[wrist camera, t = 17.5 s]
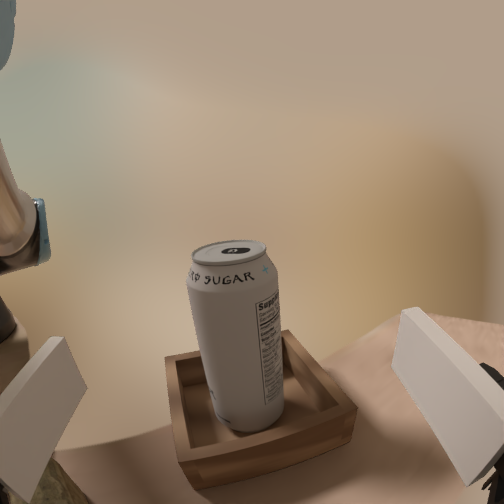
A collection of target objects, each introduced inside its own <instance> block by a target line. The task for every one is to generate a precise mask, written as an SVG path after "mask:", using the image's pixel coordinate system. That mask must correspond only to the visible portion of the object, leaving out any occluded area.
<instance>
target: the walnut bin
mask: <svg viewBox="0 0 504 504" xmlns="http://www.w3.org/2000/svg"><path fill="white" fill-rule="evenodd" d="M281 343H282V364H283V387H284V409H283V412H282V414H281V416H280V417H279V418H278V419H277V420H276V421H275V422H274V423H273V424H272V425H271V426H269V427H268V428H266V429H264V430H262V431H259V432H254V433H242V432H238V431H235V430H233V429H231V428H229V427H227V426H225V425H224V424H222V423H221V422H220V421H219V420H218V418H217V416H216V414H215V410H214V407H213V403H212V399H211V395H210V391H209V387H208V383H207V379H206V375H205V370H204V366H203V362H202V358H201V353H200V350H199V351H194V352H189V353H184V354H178V355H173V356H167V357H165V367H166V377H167V387H168V396H169V404H170V413H171V419H172V427H173V434H174V441H175V447H176V453H177V459H178V463H179V465H180V467H181V468H182V470H183V472H184V474H185V475H186V477H187V479H188V481H189V482H190V484H191V486H192V487H193V489H194V490H199V489H204V488H210V487H215V486H220V485H224V484H229V483H233V482H237V481H241V480H245V479H249V478H253V477H256V476H260V475H263V474H267V473H270V472H273V471H276V470H279V469H282V468H285V467H288V466H291V465H294V464H297V463H300V462H302V461H305V460H308V459H310V458H313V457H315V456H318V455H320V454H323V453H325V452H327V451H330V450H332V449H334V448H337V447H339V446H341V445H343V444H345V443H348V442H350V440H351V435H352V431H353V427H354V422H355V418H356V413H357V408H358V407H357V406H356V405H355V404H354V403H353V402H352V401H351V400H350V399H349V398H348V396H347V395H346V394H345V393H344V392H343V391H342V390H341V389H340V388H339V386H338V385H337V384H336V383H335V382H334V381H333V380H332V379H331V378H330V376H329V375H328V374H327V373H326V372H325V371H324V370H323V369H322V367H321V366H320V365H319V364H318V363H317V362H316V361H315V360H314V358H313V357H312V356H311V355H310V354H309V353H308V352H307V350H306V349H305V348H304V347H303V346H302V345H301V344H300V343H299V341H298V340H297V339H296V338H295V337H294V336H293V335H292V333H291V332H290V331H289V330H284V331H281Z"/></svg>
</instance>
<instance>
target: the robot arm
mask: <svg viewBox="0 0 504 504" xmlns="http://www.w3.org/2000/svg"><path fill="white" fill-rule="evenodd" d="M15 14H16V0H0V70H1V69H2V68H3V67H4V66H5V65H6V63H7V61H8V59H9V56H10V53H11V49H12V44H13V38H14V27H15V25H14V17H15ZM50 257H51V250H50V244H49V237H48V229H47V221H46V212H45V204H44V200H43V199H41V198H39V199H37V198H34V199H31V197H30V196H29V195H28V194H27V193H26V192H24V191H22V190H20V189H18V187H17V185H16V182H15V179H14V177H13V174H12V172H11V169H10V167H9V164H8V161H7V158H6V155H5V152H4V149H3V146H2V143H1V140H0V275H3V274H7V273H10V272H14V271H17V270H21V269H24V268H28V267H31V266H38V265H39V264H41V263H44V262H46V261H48V260H49V259H50ZM15 325H16V323H15V320H14V318H13V315H12V313H11V311H10V310H9V309H8V308H7V306H6V305H5V303H4V301H3V300H2V298H1V296H0V342H1V341H3V340H4V339H5V338H6V337H8V336H9V335H10V334H11V332H12V331H13V330H14V328H15ZM391 367H392V369H393V370H394V372H395V373H396V375H397V376H398V378H399V379H400V381H401V382H402V384H403V385H404V387H405V388H406V390H407V391H408V393H409V394H410V396H411V397H412V399H413V401H414V402H415V404H416V405H417V407H418V408H419V410H420V411H421V413H422V414H423V416H424V418H425V419H426V421H427V422H428V424H429V426H430V427H431V429H432V430H433V432H434V434H435V435H436V437H437V438H438V440H439V442H440V443H441V445H442V447H443V448H444V450H445V452H446V453H447V455H448V457H449V458H450V460H451V462H452V463H453V465H454V467H455V469H456V470H457V472H458V474H459V475H460V477H461V479H462V481H463V483H464V484H465V486H466V487H468V486H470V485H471V484H473V483H474V482H476V481H478V480H479V479H481V478H482V477H484V476H485V475H486V474H487V473H488V471H489V470H490V469H491V468H492V467H493V466H494V467H495V469H496V471H495V472H494V474H493V475H492V476H491V477H490V478H489V479H488V480H487V481H486V482H485V483H484V485H483V487H482V490H484V489H485V488H486V487H487V486H488V485H489V484H490V483H491V482H492V484H491V486H490V487H489V489H488V490H490V493H489V498H488V503H487V504H504V377H503V376H502V375H501V374H500V373H499V372H498V371H497V370H496V369H494V368H492V367H491V366H489V365H487V364H485V363H481V364H478V363H477V362H476V361H475V360H474V359H473V358H472V357H471V356H470V355H469V354H468V353H467V352H466V351H465V350H464V349H463V348H462V347H461V346H460V345H459V344H458V343H457V342H455V341H454V340H453V339H452V338H451V337H450V336H449V335H448V334H447V333H446V332H445V331H444V330H443V329H442V328H441V327H440V326H438V325H437V324H436V323H435V322H434V321H433V320H432V319H431V318H430V317H429V316H428V315H426V314H425V313H424V312H423V311H422V310H421V309H420V308H419V307H414V308H409V309H404V310H402V311H401V317H400V324H399V330H398V335H397V341H396V346H395V351H394V356H393V360H392V365H391ZM86 390H87V386H86V384H85V382H84V380H83V378H82V376H81V374H80V372H79V370H78V368H77V365H76V363H75V361H74V359H73V357H72V354H71V352H70V350H69V347H68V345H67V342H66V340H65V337H60V336H51V337H50V338H49V339H48V340H47V341H46V342H45V343H44V344H43V345H42V347H41V348H40V349H39V350H38V351H37V352H36V353H35V355H34V356H33V357H32V358H31V359H30V360H29V361H28V362H27V363H26V365H25V366H24V367H23V368H22V369H21V370H20V372H19V373H18V374H17V375H16V376H15V378H14V379H13V380H12V381H11V382H10V384H9V385H8V386H7V387H6V389H5V390H4V391H3V392H2V393H1V395H0V504H9V502H8V498H7V495H6V493H5V492H4V491H3V488H4V487H5V488H6V489H7V490H8V491H10V492H11V493H12V494H13V495H14V496H16V497H17V498H19V499H21V500H23V501H25V502H27V503H30V501H31V498H32V496H33V494H34V491H35V489H36V487H37V485H38V483H39V480H40V478H41V476H42V474H43V472H44V470H45V468H46V465H47V463H48V461H49V459H50V457H51V455H52V453H53V451H54V449H55V447H56V445H57V443H58V441H59V439H60V437H61V435H62V433H63V432H64V430H65V428H66V426H67V424H68V422H69V420H70V418H71V417H72V415H73V413H74V411H75V409H76V408H77V406H78V404H79V402H80V400H81V399H82V396H83V395H84V393H85V392H86Z"/></svg>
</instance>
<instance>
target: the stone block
mask: <svg viewBox="0 0 504 504" xmlns="http://www.w3.org/2000/svg"><path fill="white" fill-rule="evenodd" d="M8 493H9V496H10V501H11V504H89V503H88V501H87V500H86V498H85V496H84V494H83V493H82V491H81V490H80V488H79V487H78V486H77V485H76V484H75V483H74V482H73V481H72V480H71V478H70V477H69V476H68V475H67V473H66V472H65V471H64V470H63V468H62V467H61V466H60V464H59V463H57V462H56V461H55V460H54V459H53V458H50V459H49V461H48V463H47V465H46V468H45V470H44V472H43V474H42V476H41V478H40V480H39V483H38V485H37V487H36V489H35V491H34V494H33V496H32V498H31V501H30V503H27V502H25V501H23V500H21V499H19V498H17V497H16V496H14V495H13V494H12V493H11V492H10V491H8Z"/></svg>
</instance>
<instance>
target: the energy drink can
mask: <svg viewBox="0 0 504 504" xmlns="http://www.w3.org/2000/svg"><path fill="white" fill-rule="evenodd" d="M191 256H192V260H193V263H192V265H191V268H190V271H189V273H188V276H187V279H186V283H187V289H188V295H189V300H190V305H191V310H192V315H193V320H194V325H195V330H196V335H197V339H198V344H199V348H200V353H201V358H202V362H203V366H204V370H205V375H206V379H207V383H208V387H209V391H210V395H211V399H212V403H213V407H214V410H215V414H216V416H217V418H218V420H219V421H220V422H221V423H222V424H224V425H225V426H227V427H229V428H231V429H233V430H235V431H238V432H242V433H254V432H259V431H262V430H264V429H266V428H268V427H269V426H271V425H272V424H273V423H274V422H275V421H276V420H277V419H278V418H279V417H280V416H281V414H282V412H283V409H284V387H283V364H282V343H281V325H280V306H279V289H278V273H277V269H276V267H275V266H274V264H273V263H272V261H271V260H270V258H269V257H268V255H267V254H266V245H265V244H264V243H261V242H258V241H253V240H231V241H222V242H217V243H212V244H208V245H205V246H202V247H200V248H198V249H196V250H194V251H193V252H192V254H191Z"/></svg>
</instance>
